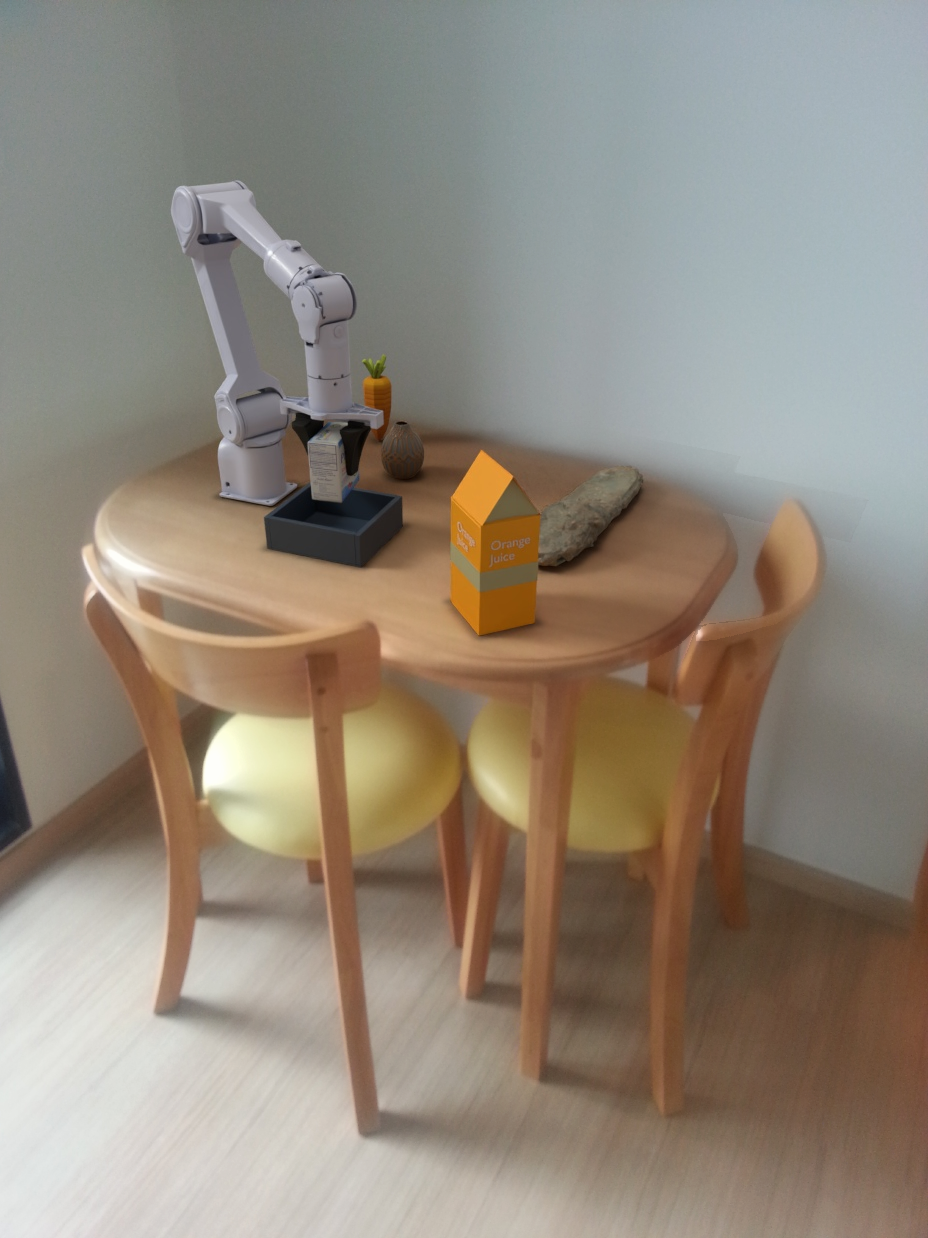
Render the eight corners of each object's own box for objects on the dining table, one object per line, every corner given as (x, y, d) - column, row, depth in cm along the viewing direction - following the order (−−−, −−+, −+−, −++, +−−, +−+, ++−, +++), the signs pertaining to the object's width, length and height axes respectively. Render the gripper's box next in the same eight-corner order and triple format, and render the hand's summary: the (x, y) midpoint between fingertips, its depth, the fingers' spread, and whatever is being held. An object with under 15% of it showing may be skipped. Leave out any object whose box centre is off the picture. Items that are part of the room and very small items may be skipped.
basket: (266, 548, 134) (263, 517, 131) (314, 509, 145) (312, 479, 142) (361, 567, 129) (359, 535, 127) (403, 526, 140) (402, 495, 138)
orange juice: (478, 636, 115) (481, 481, 105) (449, 601, 122) (449, 452, 111) (536, 622, 118) (545, 470, 107) (505, 589, 125) (510, 443, 114)
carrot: (361, 444, 167) (357, 358, 159) (369, 434, 171) (365, 350, 163) (389, 446, 166) (387, 360, 158) (396, 436, 170) (393, 352, 163)
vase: (432, 472, 157) (432, 420, 152) (408, 486, 152) (406, 433, 148) (398, 463, 160) (396, 412, 156) (373, 476, 155) (370, 424, 151)
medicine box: (341, 504, 131) (338, 443, 126) (310, 500, 131) (306, 440, 127) (360, 481, 137) (357, 423, 133) (330, 477, 138) (327, 419, 133)
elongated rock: (657, 495, 153) (598, 485, 158) (660, 463, 151) (600, 454, 155) (570, 577, 126) (502, 563, 130) (572, 540, 124) (503, 527, 128)
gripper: (264, 374, 125) (273, 472, 132) (365, 389, 120) (369, 489, 127) (291, 359, 130) (299, 454, 137) (389, 373, 126) (392, 469, 133)
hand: (334, 469), depth 133 cm, fingers closed on medicine box, 5 cm apart
